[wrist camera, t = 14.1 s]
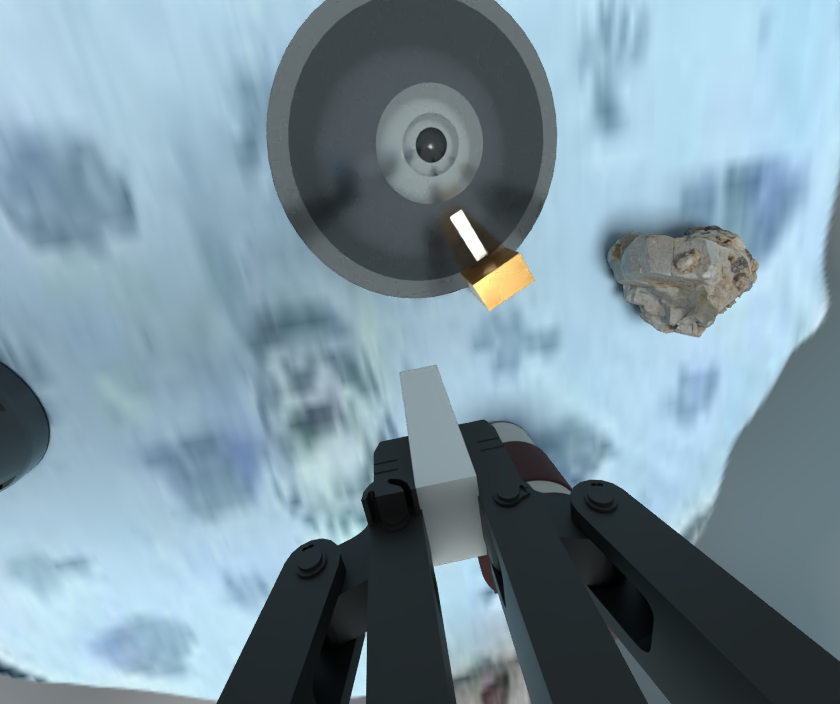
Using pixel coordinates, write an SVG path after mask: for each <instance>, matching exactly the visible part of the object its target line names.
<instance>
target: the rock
mask: <svg viewBox="0 0 840 704" xmlns="http://www.w3.org/2000/svg"><path fill="white" fill-rule="evenodd" d="M607 261H608V263H609V265H610V269H612V270H613V273H614V278H615V281H616V282H617V283H620V284H622V285H623V290H624V298H625V300H626V302H629V303H632V304H636V305H639V308H640V311H639V313H640V317H641V318H642V319H643V320H644V321H646V322H647V323H649V324H651V325H652V326H653V327H654V328H655V329H657V330H658V331H661V332H664V333H666V334H667V333H671V332H676V333H680V334H684V335H689V336H693V337H700V336H701V335H702V333H703V332H704V331H705V329H706V328H707V327H710V326H711V325H712V324H713V323H714V321H715V318H716V316H717V314H722V313H724V312H725V311H726V310H727V309H726V308H731V306H732V305H733V304H734V303H736V301H735V299H736V298H737V297H739V298H740V296H741V295H742V293H743V292H746V291H749V290H750V289H751V288H752V284H753V283H755V281H756V279H757V275H756V273H755V272H756V270H757V269H758V267H759V264H758V262H757V261H756V260H755V259H752V256H751V254H750V253H749V252H748V250H746V244H745V243H744V241H743V240H742V239H741V238H740V236H739V235H736V234H734V233H731V232H730V231H726V230H723V229H721V228H719V227H718V226H708V227H705V228H704V227H696V228H692V229H690V228H689V229H688V230H687V231H686V233H685V234H684V235H683V236H681V237H680V238H678V237H677V238H673V237H670V236H666V235H645V234H641V233H635V232H629V233H627V234H625V235H624V236H623V237H622V238H620V239H618V240H617V241H616V243H615V244H614V245H613V246H612V247H611V248H610V250H609V252H608V256H607Z"/></svg>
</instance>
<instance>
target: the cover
mask: <svg viewBox="0 0 840 704" xmlns="http://www.w3.org/2000/svg"><path fill="white" fill-rule="evenodd" d="M482 151H483V136H482V130H481V125H480V122H479V119H478V117H477V115H476V112H475V110H474V109H473V107H472V106H471V104H470V103H469V102H468V101H467V99H466V98H465V97H463V96H462V95H461V94H460V93H459V92H457V91H456V90H454V89H453V88H450V87H448V86H446V85H443V84H439V83H420V84H416V85H413V86H410V87H408V88H406V89H404V90H403V91H401V92H400V93H399V94H397V95H396V96H395V97H394V98H393V99H392V100H391V102H390V103H389V104H388V105H387V107H386V109H385V110H384V112H383V114H382V116H381V119H380V121H379V125H378V128H377V134H376V154H377V160H378V164H379V167H380V170H381V172H382V175H383V177H384V178H385V180H386V182H387V183H388V184H389V186H390V187H391V188H392V189H393V190H394V191H395V192H396V193H398V194H399V195H400V196H402V197H404V198H406V199H408V200H410V201H413V202H417V203H422V204H437V203H442V202H445V201H448V200H450V199H452V198H454V197H455V196H457V195H458V194H460V193H461V192H462V191H463V190H464V189H465V188H466V187H467V186H468V185H469V184H470V182H471V181H472V179H473V178H474V176H475V174H476V172H477V170H478V167H479V165H480V161H481V157H482Z"/></svg>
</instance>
